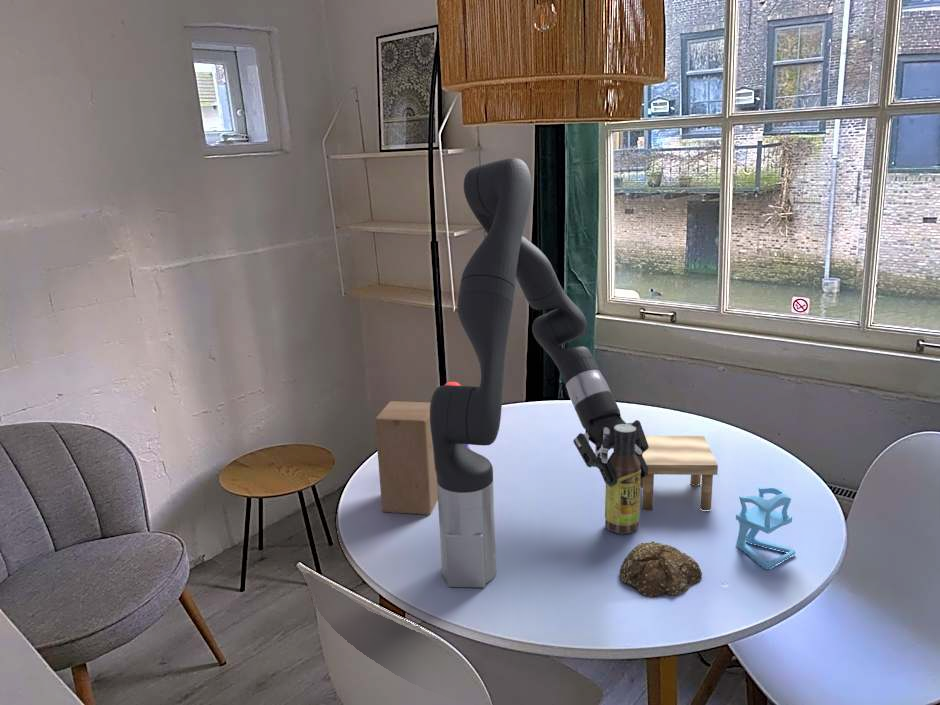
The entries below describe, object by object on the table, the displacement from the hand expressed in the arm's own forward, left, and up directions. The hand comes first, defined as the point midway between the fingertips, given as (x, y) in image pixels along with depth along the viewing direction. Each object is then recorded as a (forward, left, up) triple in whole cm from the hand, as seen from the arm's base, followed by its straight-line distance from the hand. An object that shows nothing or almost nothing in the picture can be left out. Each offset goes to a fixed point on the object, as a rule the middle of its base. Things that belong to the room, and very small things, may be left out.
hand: (629, 480), depth 140 cm
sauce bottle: (+1, +1, -11) cm, 11 cm away
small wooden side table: (+14, -10, -10) cm, 20 cm away
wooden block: (+10, +42, -11) cm, 45 cm away
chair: (-7, -22, -11) cm, 25 cm away
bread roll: (-14, -3, -11) cm, 18 cm away
